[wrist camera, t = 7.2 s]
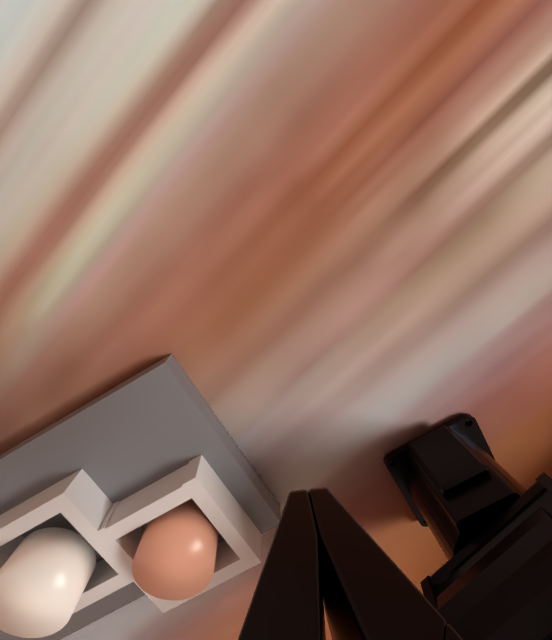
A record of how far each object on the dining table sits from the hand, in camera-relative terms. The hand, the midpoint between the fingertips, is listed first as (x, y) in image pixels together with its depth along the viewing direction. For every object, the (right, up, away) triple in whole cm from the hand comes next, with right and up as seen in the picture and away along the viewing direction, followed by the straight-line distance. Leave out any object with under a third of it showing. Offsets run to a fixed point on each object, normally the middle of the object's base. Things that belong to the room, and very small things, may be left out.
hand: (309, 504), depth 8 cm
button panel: (-13, -9, +15) cm, 22 cm away
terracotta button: (-7, -9, +13) cm, 17 cm away
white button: (-14, -10, +12) cm, 20 cm away
